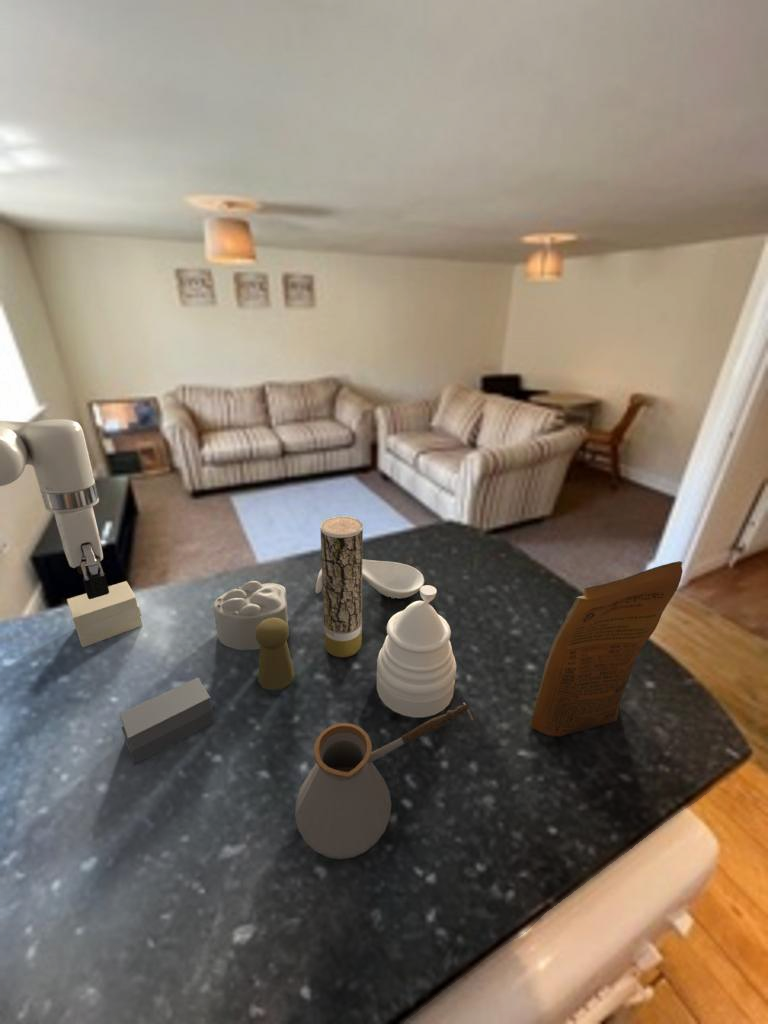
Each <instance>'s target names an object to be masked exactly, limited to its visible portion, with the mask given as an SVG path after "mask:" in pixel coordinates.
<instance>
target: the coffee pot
mask: <svg viewBox="0 0 768 1024" xmlns="http://www.w3.org/2000/svg"><path fill="white" fill-rule="evenodd" d="M466 712H467V714H468V716H469V717H470V719H471V721H474V717H473V715H472V713H471V711H470V708H469V706H468V704H467V703H465V702H463V703H462V705H459V706H457V707H456V709H454V710H451V709H448V710H447V711H446V713H445V714H442V715H439V716H437V717H433V718H430V719H428V720H427V721H425V722H423V723H422V724H420V725H418V726H416V727H415V728H414V729H412V730H410V731H409V732H407V733H405V734H403V735H401V737H399V738H397V739H395V740H393V741H391V742H389V743H387V744H385V745H383V746H381V747H379V748H377V749H375V750H373V745H372V741H371V739H370V736H369V735H368V733H367V732H366V731H365V730H364V729H363V728H361V727H360V726H358V725H357V724H354V723H349V722H340V723H336V724H331V725H330V726H328V727H327V728H325V729H323V731H321V733H319V735H318V737H317V738H316V739H315V742H314V746H313V757H314V760H315V764H314V766H313V767H312V769H311V770H310V772H309V773H308V775H307V777H306V778H305V780H304V782H303V783H302V785H301V786H300V788H299V791H298V793H297V797H296V800H295V811H294V812H295V813H294V818H295V822H296V826H297V830H298V832H299V834H300V835H301V837H302V839H303V840H304V842H305V843H306V844H307V846H309V847H310V848H311V849H312V850H313V851H314V852H316V853H318V854H320V855H322V856H323V857H325V858H328V859H335V860H347V859H352V858H356V857H357V856H358V857H359V856H360V855H361V854H364V853H366V852H367V851H368V850H369V849H371V848H372V847H373V846H374V845H376V844H377V843H378V842H379V840H380V839H381V838H382V836H383V834H384V833H385V832H386V830H387V826H388V824H389V821H390V819H391V813H392V812H391V811H392V800H391V799H392V798H391V793H390V790H389V787H388V785H387V783H386V780H385V779H384V778H383V776H382V774H381V772H380V771H379V770H378V769H377V767H376V766H375V765H374V763H373V762H374V761H376V760H378V759H380V758H382V757H383V756H385V755H387V754H388V753H391V752H392V751H394V750H396V749H398V748H399V747H402V746H403V745H406V744H408V743H410V742H413V741H415V740H417V739H419V738H421V737H424V736H426V735H428V734H430V733H432V732H434V731H437V730H438V729H439V728H440V727H442V726H443V725H444V724H446V723H447V722H449V721H452V722H453V721H454V720H455V718H456V717H458V716H459V715H463V714H464V713H466Z"/></svg>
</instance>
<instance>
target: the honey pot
mask: <svg viewBox="0 0 768 1024" xmlns="http://www.w3.org/2000/svg"><path fill="white" fill-rule="evenodd" d="M437 591H438V590H437V587H435V586H433V585H429V584H424V585H423V586H422V587H421V588H420V590H419V594H420V598H421V599H422V600H416V601H413V602H411V603H410V604H409V605H407V606H406V607H405V609H403V610H400V611H398V612H396V613H394V614H393V615H392V616H391V617H390V619H389V620H388V622H387V625H386V634H387V635H386V636H385V639H384V641H383V645H382V647H381V648H380V650H379V652H378V656H377V659H376V663H377V664H376V692H377V694H378V697H379V699H380V700H381V701H382V703H383V704H384V706H386V707H387V708H389V709H390V710H392V711H393V712H394V713H397V714H400V715H401V716H405V717H409V718H427V717H431V716H435V715H437V714H439V713H441V712H443V711H444V710H445V709H446V708H447V707H449V705H450V704H451V701H452V699H453V697H454V691H455V684H456V683H455V682H456V676H457V675H456V673H457V662H456V661H457V660H456V658H455V655H454V652H453V648H452V643H451V641H450V639H451V635H452V631H451V627H450V625H449V623H448V622H447V620H446V619H445V618H444V617H443V616H442V615H440V614H438V612H437V611H436V610H435V609H434V607H433V606H432V605H431V604H430V603H431V601H433V600H434V599H435V597H436V595H437Z"/></svg>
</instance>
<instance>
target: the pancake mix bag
mask: <svg viewBox="0 0 768 1024" xmlns="http://www.w3.org/2000/svg"><path fill="white" fill-rule="evenodd" d="M683 572H684V571H683V561H679V560H678V561H673V562H669V563H666V564H662V565H659V566H655V567H652V568H649V569H645V570H644V571H640V572H638V573H634V574H633V575H630V576H627V577H624V578H620V579H617V580H613V581H609V582H606V583H603V584H597V585H594V586H593V585H592V586H589V587H584V591H583V595H581V596H580V595H579V596H576V597H575V599H574V601H573V604H572V605H571V607H570V609H569V611H568V613H567V614H566V617H565V619H564V621H563V623H562V624H561V626H560V627H559V629H558V632H557V633H556V635H555V637H554V640H553V642H552V644H551V646H550V650H549V653H548V656H547V659H546V662H545V664H544V669H543V674H542V676H541V677H542V678H541V683H540V686H539V690H538V693H537V696H536V701H535V705H534V712H533V715H532V718H531V721H530V722H529V725H528V727H529V728H531V729H533V730H536V731H537V732H540V733H542V734H543V735H546V736H548V737H549V736H550V737H557V738H558V737H559V738H560V737H563V736H564V737H565V736H568V735H571V734H575V733H579V732H584V731H585V730H586V729H587V730H590V729H593V728H596V727H597V728H598V727H600V725H601V726H606V725H610V724H613V723H612V722H614V723H616V721H617V719H618V717H619V714H620V713H619V712H620V707H621V702H622V699H623V696H624V693H625V690H626V687H627V684H628V681H629V679H630V676H631V674H632V671H633V668H634V665H635V663H636V661H637V658H638V655H639V653H640V651H641V650H642V648H643V647H644V646H645V644H646V643H647V641H648V640H649V639H650V638H651V636H652V635H653V633H654V632H655V630H656V629H657V626H658V625H659V622H660V620H661V617H662V615H663V613H664V611H665V609H666V608H667V606H668V604H669V603H670V601H671V600H672V599H673V597H674V595H675V594H676V592H677V590H678V588H679V585H680V583H681V580H682V576H683ZM609 723H610V724H609ZM605 724H606V725H605Z"/></svg>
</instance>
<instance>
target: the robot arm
mask: <svg viewBox="0 0 768 1024" xmlns="http://www.w3.org/2000/svg"><path fill="white" fill-rule="evenodd" d="M27 465H28V466H29V465H30V466H32V467H33V470H34V473H35V477H36V480H37V484H38V487H39V491H40V494H41V495H40V496H41V498H42V502H43V504H44V509H45V510H46V511H48V512H49V513H54V518H55V523H56V526H57V530H58V535H59V537H60V540H61V544H62V548H63V552H64V554H65V558H66V560H67V562H68V566H69V567H70V568H71V569H72V568H73V569H76V570H77V574H78V575H83V578H82V581H83V582H82V583H83V585H84V590H85V594H86V593H87V597H88V599H93V598H96V597H100V596H103V595H106V594H108V593H109V589H108V587H109V585H108V581H107V578H106V573H105V572H104V570H103V567H102V564H101V562H102V560H104V553H103V547H102V543H101V537H100V533H99V528H98V524H97V520H96V515H95V511H94V506H96V505H97V504H98V503H100V498H99V494H98V493H99V492H98V490H97V483H96V481H95V476H94V472H93V468H92V464H91V459H90V456H89V450H88V445H87V441H86V438H85V434H84V430H83V428H82V426H81V424H80V423H78V422H77V421H75V420H71V419H65V418H51V419H43V420H38V421H13V420H12V421H11V420H0V487H3V486H7V485H9V484H12V483H14V482H16V481H17V480H18V479H19V478H20V477H21V476H22V475H23V472H24V471H25V468H26V466H27Z"/></svg>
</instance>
